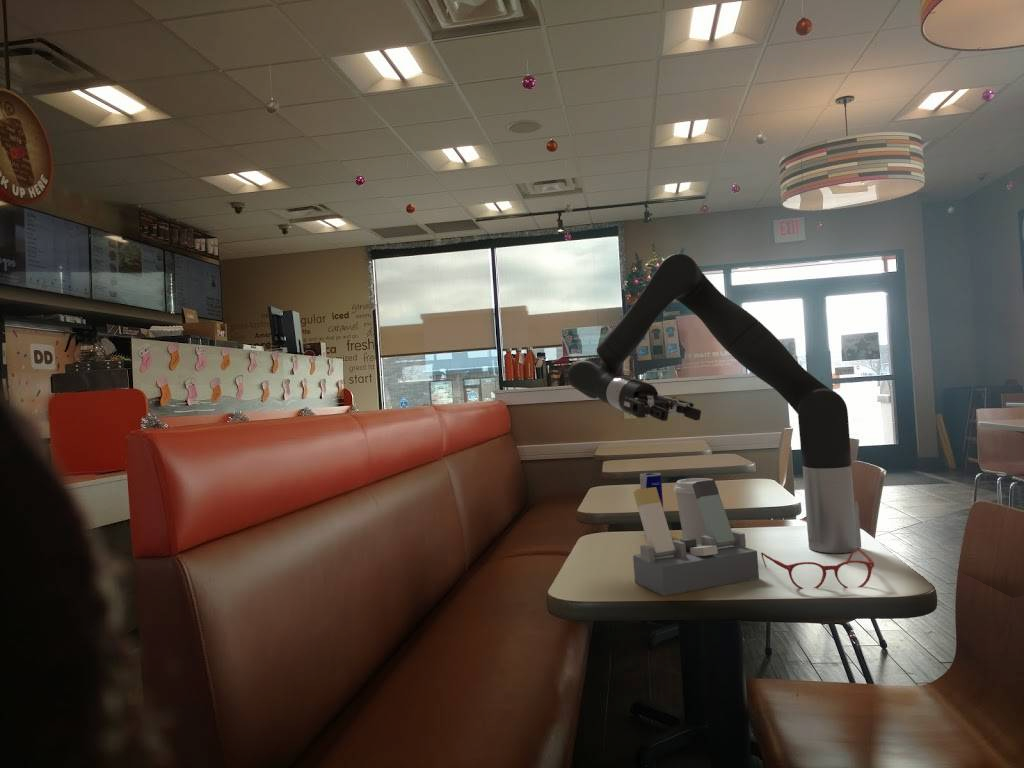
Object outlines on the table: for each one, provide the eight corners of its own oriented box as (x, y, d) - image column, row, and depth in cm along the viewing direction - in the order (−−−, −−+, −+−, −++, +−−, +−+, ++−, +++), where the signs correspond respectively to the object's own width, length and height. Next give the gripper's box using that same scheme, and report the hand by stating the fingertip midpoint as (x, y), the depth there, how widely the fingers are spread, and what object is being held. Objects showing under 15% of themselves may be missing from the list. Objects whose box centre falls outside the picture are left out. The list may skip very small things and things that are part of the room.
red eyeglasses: (779, 593, 114) (777, 563, 115) (758, 568, 130) (756, 542, 130) (887, 590, 112) (885, 560, 112) (853, 565, 128) (850, 539, 128)
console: (726, 565, 132) (723, 527, 132) (760, 577, 122) (757, 536, 123) (633, 582, 125) (630, 542, 125) (662, 596, 116) (659, 552, 116)
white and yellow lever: (673, 555, 123) (653, 489, 128) (678, 553, 122) (657, 486, 127) (650, 559, 122) (631, 492, 127) (655, 557, 120) (635, 489, 125)
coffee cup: (721, 544, 150) (716, 476, 150) (724, 554, 141) (719, 483, 141) (677, 544, 152) (673, 478, 152) (677, 555, 143) (672, 484, 143)
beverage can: (661, 537, 161) (656, 474, 161) (641, 536, 163) (636, 474, 164) (667, 532, 165) (663, 471, 165) (647, 531, 168) (643, 471, 168)
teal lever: (732, 545, 127) (711, 482, 133) (738, 543, 126) (715, 479, 131) (711, 549, 126) (690, 485, 131) (716, 547, 124) (694, 482, 129)
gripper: (607, 378, 141) (658, 397, 127) (659, 379, 148) (712, 397, 134) (602, 412, 143) (652, 435, 129) (654, 412, 150) (706, 433, 136)
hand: (683, 415), depth 132 cm, fingers open, 8 cm apart
